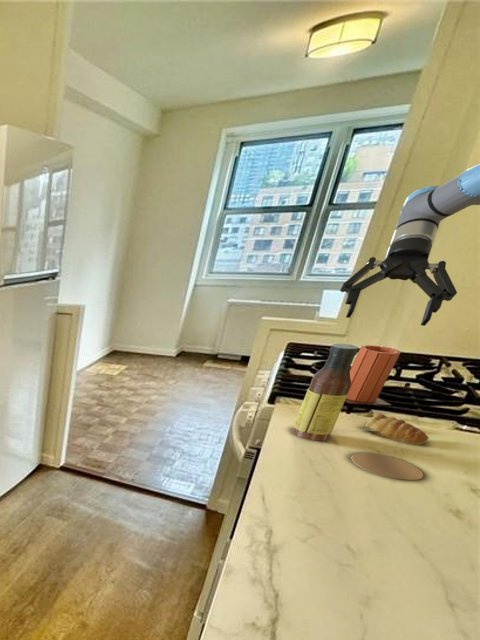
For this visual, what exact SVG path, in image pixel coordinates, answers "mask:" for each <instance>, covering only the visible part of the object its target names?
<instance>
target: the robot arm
mask: <svg viewBox="0 0 480 640" xmlns="http://www.w3.org/2000/svg"><path fill="white" fill-rule="evenodd" d="M471 206H480V163H478V164H475V165H473V166H472V167H469V168H467V169H466V170H464V171H463V172H461V173H460V174H457V175H456V176H455V177H453V178H451V179H450V180H448V181H447V182H445V183H443V184H442V185H441V184H440V185H429V186H425V187H423V188H419V189H417V190H414V191H413V192H411V193H410V194H409V195H408V196H407V197H406V199H405V202H404V203H403V205H402V206H401V207H402V208H401V209H400V212H399V217H398V219H397V223H396V225H395V229H394V233H393V235H392V238H391V241H390V243H389V247H388V249H387V252H386V256H385V258H384V259H383V260H380V259H377V258H376V257H374V256H372V257H369V259H368V260H367V262H366V263H365V265H364V266H363V267H362V268H360V269H358V271H357V272H356V273H354V274H353V275H352V276H351V277H350V278H348V279H347V280H346V281H345V282H343V284H342V286H341V287H340V289H339V292H341V293H347V295H346V296H347V297H346V299H345V301H344V303H345V305H349V306H348V307H349V308H348V309H347V313H346V315H345V318H348V319H350V318H351V317H352V315H353V314H354V311H355V309H356V306H357V303H358V300H359V297H360V295H361V292H362V291H363V290H365V289H367V288H368V287H369V288H370V287H371V286H372V285H374V284H376V283H378V282H381V281H383V280H385V279H387V278H388V279H389V280H401V281H408V280H410V281H411V282H412V283H413V284H416V285H417V286H418V287H419V288H420V289H421V290H422V291H423V293H425V295H427V296H428V297H429V300H428V301H427V304H426V307H425V309H424V314H423V316H422V318H421V319H422V320H421V321H420V322H421V323H420V326H422V327H423V326H424V327H425V326H426V325H427V324H428V323H429V322H430V321H431V319H432V315H433V313H435V314H436V313H437V312H438V311H439V310H440V309H441V307H442V304H443V301H446V302H449V301H452V300H453V299H454V297H456V295H457V294H458V291H457V289H456V287H455V284H454V283H453V281H452V279H451V277H450V275H449V273H448V271H447V269H446V265H447V262H446V260H439V262H435V263H430V262H429V257H430V254H431V250H432V249H433V245H434V241H435V238H436V235H437V233H438V229H439V226H440V223H441V222H442V221H443V220H444V219H447V218H448V217H451V216H453V215H455V214H457V213H459V212H460V211H462V210H464V209H466V208H468V207H471ZM377 267H379V269H380V270H379V271H378V272H376V273H374V274H372V275H370V276H369V277H366V278H364V277H365V276H366V275H367V274H368V273H370V271H373V270H375V269H376V268H377ZM426 270H428V271H429V272H430V274H431V275H432V276H433V279H434V280H433V279H432V278H431V277H430V276H428V273H427V271H426ZM362 278H364V279H363V280H361V279H362ZM360 280H361V281H360Z"/></svg>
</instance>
